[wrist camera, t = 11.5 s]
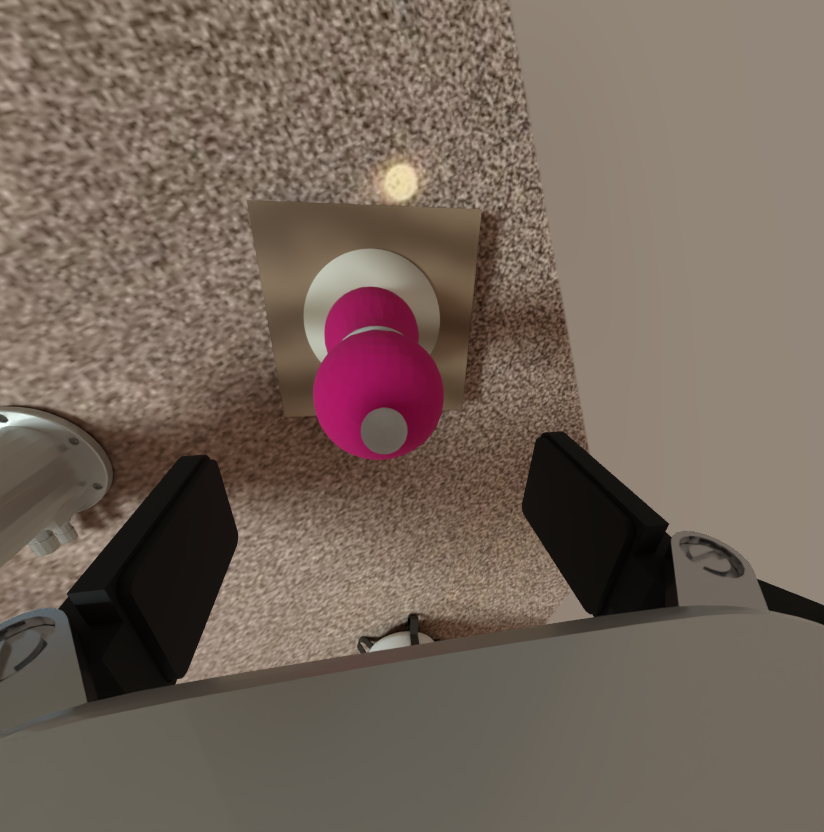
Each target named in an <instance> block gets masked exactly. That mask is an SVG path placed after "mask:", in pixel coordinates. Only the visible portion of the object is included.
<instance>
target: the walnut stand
mask: <svg viewBox="0 0 824 832" xmlns="http://www.w3.org/2000/svg"><path fill="white" fill-rule="evenodd" d="M247 203H248V209H249V215H250V221H251V226H252V232H253V238H254V243H255V249H256V255H257V261H258V266H259V272H260V278H261V283H262V289H263V295H264V301H265V306H266V312H267V318H268V324H269V329H270V335H271V341H272V346H273V352H274V358H275V364H276V369H277V375H278V381H279V387H280V392H281V398H282V404H283V409H284V415H285V417H302V416H316V412H315V408H314V400H313V386H314V381H315V377H316V373H317V371H318V369H319V367H320V365H321V363H322V361H323V360H324V358H325V357H326V355H327V354H328V353H327V349H326V346H325V337H324V330H325V322H326V318H327V316H328V313H329V311H330V309H331V308H332V306H333V305H334V303H335V302H336V301H337V300H338V299H339V298H340V297H342V296H343V295H344V294H346V293H348V292H349V291H351V290H354V289H357V288H360V287H369V286H371V287H380V288H384V289H387V290H389V291H391V292H393V293H395V294H396V295H398V296H399V297H401V298H402V299H403V300H404V301H405V302H406V303H407V304H408V306H409V307H410V309H411V310H412V312H413V314H414V316H415V319H416V322H417V326H418V331H419V343H418V344H419V345H421V346H422V347H423V348H424V349H425V350H426V351H427V352H428V353H429V355H430V356H431V357H432V358H433V360H434V361H435V363H436V365H437V367H438V370H439V372H440V375H441V377H442V382H443V388H444V402H443V409H442V410H459V409H462V406H463V396H464V386H465V376H466V365H467V355H468V345H469V335H470V325H471V314H472V304H473V294H474V284H475V274H476V263H477V253H478V243H479V233H480V223H481V212H482V209H461V208H434V207H408V206H382V205H355V204H329V203H302V202H276V201H250V200H247Z"/></svg>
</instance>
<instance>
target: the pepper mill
mask: <svg viewBox="0 0 824 832" xmlns="http://www.w3.org/2000/svg"><path fill="white" fill-rule="evenodd" d="M324 337H325V346H326V349H327V353H328V354H327V355H326V357H325V358H324V360H323V361H322V363H321V365H320V367H319V369H318V371H317V373H316V377H315V381H314V386H313V400H314V408H315V412H316V416H317V418H318V420H319V423H320V425H321V427H322V429H323V430H324V432H325V433H326V434H327V436H328V437H329V438H330V440H332V441H333V442H334V443H335V444H336V445H337V446H338V447H340V448H341V449H342V450H344V451H346V452H348V453H350V454H352V455H355V456H358V457H361V458H366V459H371V460H385V459H392V458H396V457H399V456H403V455H405V454H407V453H409V452H411V451H413V450H415V449H416V448H417V447H419V446H420V445H421V444H423V443H424V442H425V441H426V440H427V439H428V438H429V436H430V435H431V434H432V432H433V431H434V429H435V428H436V426H437V424H438V421H439V419H440V416H441V413H442V409H443V402H444V388H443V382H442V377H441V375H440V372H439V370H438V367H437V365H436V363H435V361H434V360H433V358H432V357H431V356H430V355H429V353H428V352H427V351H426V350H425V349H424V348H423V347H422V346H421V345H419V344H418V343H419V331H418V326H417V322H416V319H415V316H414V314H413V312H412V310H411V309H410V307H409V306H408V304H407V303H406V302H405V301H404V300H403V299H402V298H401V297H399V296H398V295H396V294H395V293H393V292H391V291H389V290H387V289H384V288H380V287H371V286H369V287H360V288H357V289H354V290H351V291H349V292H348V293H346V294H344V295H343V296H342V297H340V298H339V299H338V300H337V301H336V302H335V303H334V305H333V306H332V308H331V309H330V311H329V313H328V316H327V318H326V322H325V330H324Z"/></svg>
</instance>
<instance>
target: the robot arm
mask: <svg viewBox="0 0 824 832" xmlns="http://www.w3.org/2000/svg"><path fill="white" fill-rule="evenodd" d="M112 481H113V470H112V466H111V462H110V460H109V458H108V456H107V454H106V453H105V451H104V450H103V449H102V447H101V446H100V445H99V444H98V443H97V442H96V441H95V440H94V439H93V438H92V437H91V436H90V435H89V434H88V433H86V432H85V431H83V430H82V429H81V428H79V427H78V426H76V425H74V424H72V423H71V422H69V421H67V420H65V419H63V418H61V417H58V416H56V415H53V414H51V413H47V412H44V411H40V410H36V409H31V408H24V407H0V568H1V567H2V566H3V565H4V564H6V563H7V562H8V561H9V560H10V559H11V558H12V557H13V556H14V555H16V554H17V553H18V552H19V551H20V550H21V549H22V548H23V547H25V546H26V545H27V544H28V545H29V546H30V548H31V549H32V551H33V552H34V553H35V555H36V556H45V555H48V554H50V553H52V552H54V551H56V550H57V549H58V548H59V547H60V542H61V543H62V544H67V543H70V542H72V541H74V540H75V539H77V537H78V534H77V532H76V531H75V529H74V527H73V526H71V524H70V522H69V521H70V520H71V517H72V516H73V515H74V514H75V513H78V512H81V511H84V510H86V509H88V508H90V507H92V506H93V505H95V504H96V503H97V502H99V501H100V500H101V499H102V498H103V497H104V496H105V495H106V493H107V492H108V491H109V489H110V487H111V484H112ZM522 510H523V514H524V516H525V517H526V519H527V520H528V522H529V524H530V525H531V527H532V528H533V530H534V531H535V533H536V534H537V536H538V538H539V539H540V541H541V542H542V544H543V545H544V547H545V549H546V550H547V552H548V553H549V555H550V556H551V558H552V559H553V561H554V563H555V564H556V566H557V567H558V569H559V570H560V572H561V574H562V575H563V577H564V578H565V580H566V581H567V583H568V584H569V586H570V588H571V589H572V591H573V592H574V594H575V595H576V597H577V599H578V600H579V602H580V603H581V605H582V606H583V608H584V609H585V611H586V612H588V613H589V614H593V616H594V617H593V618H586V619H580V620H573V621H566V622H560V623H553V624H546V625H540V626H533V627H527V628H520V629H513V630H507V631H500V632H494V633H487V634H481V635H475V636H468V637H462V638H456V639H449V640H443V641H436V642H430V643H424V644H417V645H411V646H405V647H398V648H392V649H386V650H379V651H373V652H367V653H361V654H354V655H348V656H342V657H336V658H330V659H324V660H318V661H311V662H305V663H299V664H293V665H287V666H281V667H275V668H269V669H262V670H256V671H250V672H244V673H238V674H232V675H226V676H221V677H215V678H209V679H204V680H198V681H193V682H187V683H182V684H176V681H177V679H181V678H183V677H184V676H185V674H186V673H187V671H188V668H189V666H190V663H191V661H192V658H193V656H194V653H195V651H196V648H197V646H198V643H199V641H200V638H201V635H202V633H203V630H204V628H205V625H206V623H207V620H208V618H209V615H210V613H211V610H212V607H213V605H214V602H215V600H216V597H217V595H218V592H219V590H220V587H221V585H222V582H223V579H224V577H225V574H226V572H227V569H228V567H229V564H230V562H231V559H232V557H233V554H234V552H235V549H236V546H237V543H238V531H237V528H236V524H235V521H234V518H233V514H232V511H231V507H230V504H229V501H228V497H227V494H226V491H225V487H224V484H223V480H222V477H221V474H220V470H219V467H218V464H217V462H216V460H210V458H209V457H208V456H207V455H194V456H182V457H180V458H179V459H178V460H177V462H176V463H175V464H174V465H173V466H172V468H171V469H170V470H169V471H168V472H167V474H166V475H165V476H164V477H163V478H162V480H161V481H160V482H159V483H158V485H157V486H156V487H155V488H154V489H153V491H152V492H151V493H150V494H149V495H148V497H147V498H146V499H145V500H144V501H143V503H142V504H141V505H140V506H139V507H138V509H137V510H136V511H135V512H134V513H133V515H132V516H131V517H130V518H129V519H128V521H127V522H126V523H125V524H124V525H123V527H122V528H121V529H120V530H119V531H118V533H117V534H116V535H115V536H114V537H113V539H112V540H111V541H110V542H109V543H108V545H107V546H106V547H105V548H104V549H103V551H102V552H101V553H100V554H99V555H98V557H97V558H96V559H95V560H94V561H93V563H92V564H91V565H90V566H89V567H88V569H87V570H86V571H85V572H84V573H83V575H82V576H81V577H80V578H79V579H78V581H77V582H76V583H75V584H74V586H73V587H72V588H71V589H70V590H69V592H68V593H67V595H68V598H67V599H66V600H65V601H64V603H63V604H62V605H61V606H60V608H59V609H55V608H45V609H37V610H34V611H30V612H26V613H23V614H21V615H18V616H16V617H14V618H11V619H9V620H7V621H5V622H3V623H1V624H0V832H824V605H822V604H819V603H817V602H814V601H812V600H809V599H806V598H804V597H802V596H799V595H797V594H794V593H791V592H789V591H786V590H784V589H781V588H779V587H776V586H774V585H771V584H769V583H766V582H764V581H761V580H759V579H757V578H756V575H755V573H754V571H753V569H752V567H751V565H750V564H749V562H748V561H747V560H746V559H745V558H744V557H743V556H742V555H741V554H740V553H738V552H737V551H736V550H734V549H733V548H731V547H730V546H729V545H727V544H725V543H723V542H721V541H720V540H718V539H715V538H713V537H710V536H707V535H705V534H701V533H697V532H692V531H682V532H677V533H676V534H674V535H673V536H672V537H670V536H669V535H668V534H667V533H666V532H665V531H666V529H667V527H668V525H669V523H668V522H666V521H665V520H664V519H663V518H662V517H661V516H660V515H658V514H657V513H656V512H655V511H654V510H653V509H651V508H650V507H649V506H648V505H647V504H646V503H645V502H643V501H642V500H641V499H640V498H639V497H638V496H637V495H635V494H634V493H633V492H632V491H631V490H630V489H629V488H627V487H626V486H625V485H624V484H623V483H622V482H620V481H619V480H618V479H617V478H616V477H615V476H614V475H612V474H611V473H610V472H609V471H608V470H607V469H605V467H603V466H602V465H601V464H599V462H597V461H596V460H595V459H594V458H593V457H592V456H591V455H590V454H588V453H587V452H586V451H585V450H584V449H583V448H582V447H580V446H579V445H578V444H577V443H576V442H575V441H574V440H572V439H571V438H570V437H569V436H568V435H567V434H566V433H564V432H545V433H543V434H542V435H541V437H539V438H537V439H536V442H535V446H534V451H533V456H532V460H531V465H530V469H529V474H528V479H527V483H526V488H525V493H524V497H523V502H522ZM50 530H54V531H55V532H56V533H55V534H56V536H57V537H58V539H59V540H60V542H59V540H58V539H57V537H56V536H55V534H54V533H53V531H50ZM175 684H176V685H175Z"/></svg>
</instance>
